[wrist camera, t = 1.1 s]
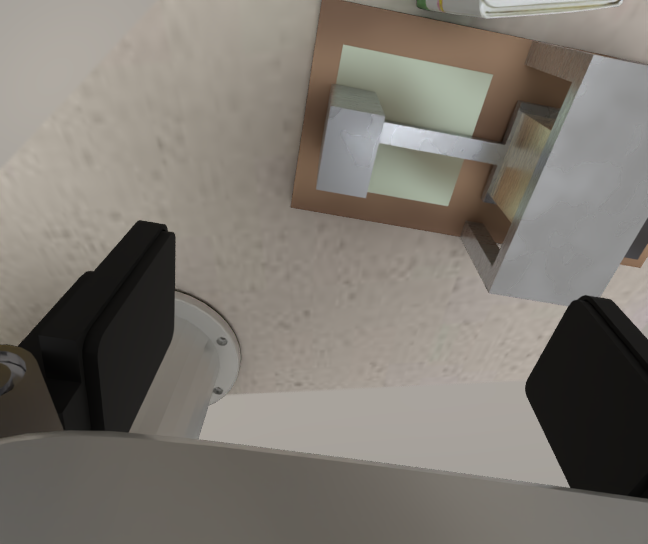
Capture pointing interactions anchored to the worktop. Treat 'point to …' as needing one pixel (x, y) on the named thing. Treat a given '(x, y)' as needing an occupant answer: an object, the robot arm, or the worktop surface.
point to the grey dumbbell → (427, 146)
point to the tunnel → (575, 186)
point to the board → (423, 115)
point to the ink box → (513, 7)
